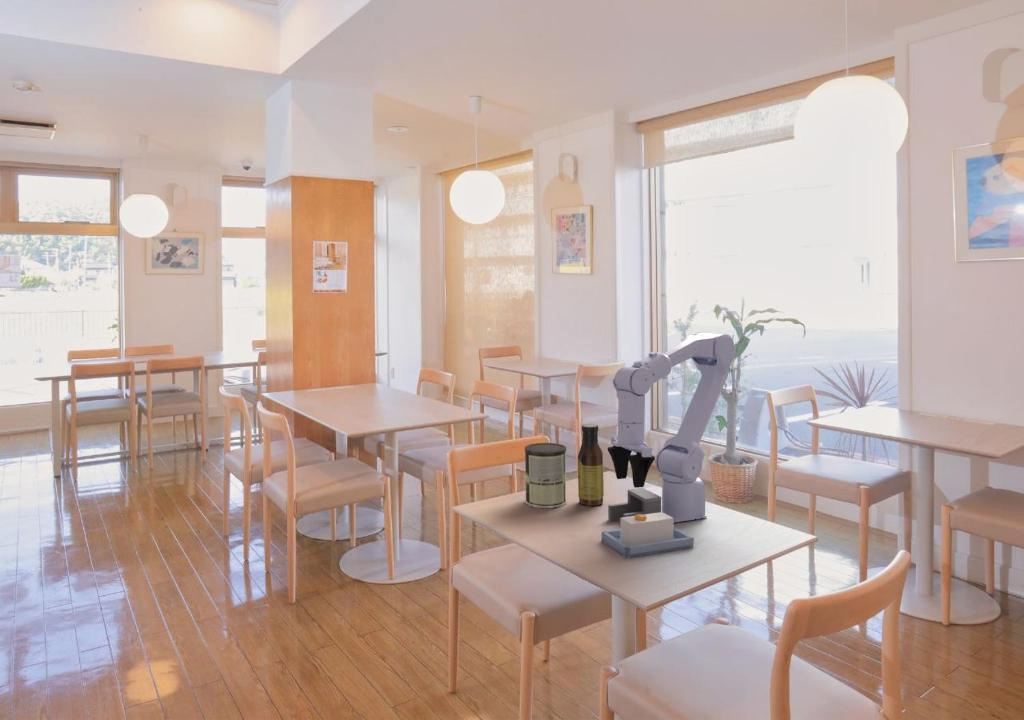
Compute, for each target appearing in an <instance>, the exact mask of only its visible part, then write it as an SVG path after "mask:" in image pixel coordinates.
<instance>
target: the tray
mask: <svg viewBox="0 0 1024 720" xmlns="http://www.w3.org/2000/svg"><path fill="white" fill-rule="evenodd" d="M694 541H695V539H694V537H693V536H691V535H689V534H687V533H685V532H683V531H682V530H680V529H678V528H676V527H674V526H673V540H667V541H661V542H654V543H648V544H641V545H635V546H627V545H626V544H624V543H623V542H621V541H620V528H618V529H611V530H603V531H601V542H603V543H604V544H606V545H607V546H608V547H610V548H611V547H612V548H611V549H612V550H614V551H616V552H617V553H618V552H619V553H618V554H620V555H621V556H623V557H624V558H625V559H629V558H628V557H631V558H636V557H635V556H637V557H641V556H642V555H643V556H649V555H654V554H660V553H668V552H674V551H679V550H685V549H691V548H692V549H693V548H694V545H695V543H694ZM643 556H642V557H643Z"/></svg>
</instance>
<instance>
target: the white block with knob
mask: <svg viewBox="0 0 1024 720" xmlns="http://www.w3.org/2000/svg"><path fill="white" fill-rule="evenodd" d="M673 521H674V518H672V517H670V516H669V515H667V514H665V513H663V512H659V513H651V514H644V515H643V514H637V515H635V516H630V517H622V518H620V520H619V523H620V527H619V529H620V541H621V542H623V543H624V544H626V545H627V546H635V545H641V544H648V543H654V542H661V541H667V540H673V527H674V523H673Z"/></svg>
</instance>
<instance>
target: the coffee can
mask: <svg viewBox="0 0 1024 720" xmlns="http://www.w3.org/2000/svg"><path fill="white" fill-rule="evenodd" d="M566 453H567V447H566V445H565V444H564V445H563V444H561V443H555V442H537V443H530V444H527V445H526V446H525V447H524V455H525V456H524V457H525V458H524V459H525V461H524V463H525V470H524V471H525V503H527V504H528V505H527V504H526V505H527V506H529V505H530V506H529V507H531V506H533V507H532V508H535V507H539V508H538V509H554V507H557V508H560V507H563V506H565V505H566V504H567V484H566V483H567V482H566V481H567V480H566V478H567V474H566V473H567V472H566V469H567V468H566V467H567V466H566V465H567V464H566V460H567V459H566V458H567V454H566Z"/></svg>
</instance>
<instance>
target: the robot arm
mask: <svg viewBox="0 0 1024 720" xmlns="http://www.w3.org/2000/svg"><path fill="white" fill-rule="evenodd" d="M736 353H737V350H736V346H735V343H734V340H733V338H732V336H731V335H729V334H728V333H723V334H721V333H720V334H718V333H717V334H716V333H702V332H694V333H692V334H690V335H687V336H686V338H685V340H683V341H681V342H680V343H679V344H677V345H675V346H674V347H673V348H671V349H669V350H668V351H666V352H664V353H662V352H657V351H651V352H649V353H648V356H647V357H645V358H643V359H642V360H639V361H638V360H636V361H634V362H633V364H632V365H631V366H622V367H620V368H619V369H618V370H617V371H616V373H615V375H614V377H613V379H612V385H613V388H614V389H615V391H616V398H617V403H618V404H617V405H618V407H617V434H616V435H611V437H610V444H611V445H612V446H608V447H607V451H608V453H609V455H610V457H611V460H612V463H613V468H614V472H615V477H616V479H617V480H624V479H625V480H626V479H627V477H628V470H629V464H630V468H631V473H632V475H631V476H632V484H633V488H634V489H637V488H644V487H645V483H646V479H647V476H648V473H649V470H650V468H651V466H652V464H653V463H654V464H655V465H654V466H655V469H656V470H657V471H658V473H659V477H660V478H662V481H661V483H662V485H661V488H662V489H661V512H663V513H665V514H667V515H669V516H670V517H672V518H674V521H673V524H675V523H681V522H688V521H695V519H696V520H701V518H703V519H707V518H708V515H707V514H706V486H705V484H704V481H703V480H702V479H701V478H700V475H701V474H702V469H703V461H704V458H705V456H706V454H705V452H704V450H703V449H702V447H701V445H700V442H701V440H702V438H703V435H704V432H705V430H706V428H707V426H708V424H709V421H710V419H711V416H712V414H713V412H714V409H715V406H716V404H717V403H718V400H719V398H720V395H721V392H722V390H723V388H724V385H725V384H726V380H727V377H728V373H729V370H730V367H731V365H732V363H733V360H734V359H735V355H736ZM689 359H691V361H692V362H693V363H694V365H695V368H696V369H697V370H698V371H700V374H701V377H700V378H699V379H700V380H698V381H699V382H698V384H697V386H696V389H695V391H694V394H693V395H692V398H691V400H690V403H689V405H688V407H687V409H686V412H685V413H684V417H683V418H682V422H681V424H680V426H679V428H678V430H677V433H676V435H674V436H671V437H670V438H668V439H667V440H665V442H664V444H663V446H662V447H661V448H660V449H659V451H658V452H657V453H656V455H653V447H651V446H649V445H648V444H647V442H646V441H645V410H646V409H645V405H646V403H645V401H646V394H647V393H648V392H649V391H650V389H651V387H652V385H653V384H656V383H657V382H658V381H660V380H661V379H664V378H666V377H667V376H669V375H670V374H671V371H672V369H673V367H675V366H678V365H679V364H681V363H683V362H687V361H688V360H689ZM632 452H633V453H636V454H632ZM706 517H707V518H706Z"/></svg>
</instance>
